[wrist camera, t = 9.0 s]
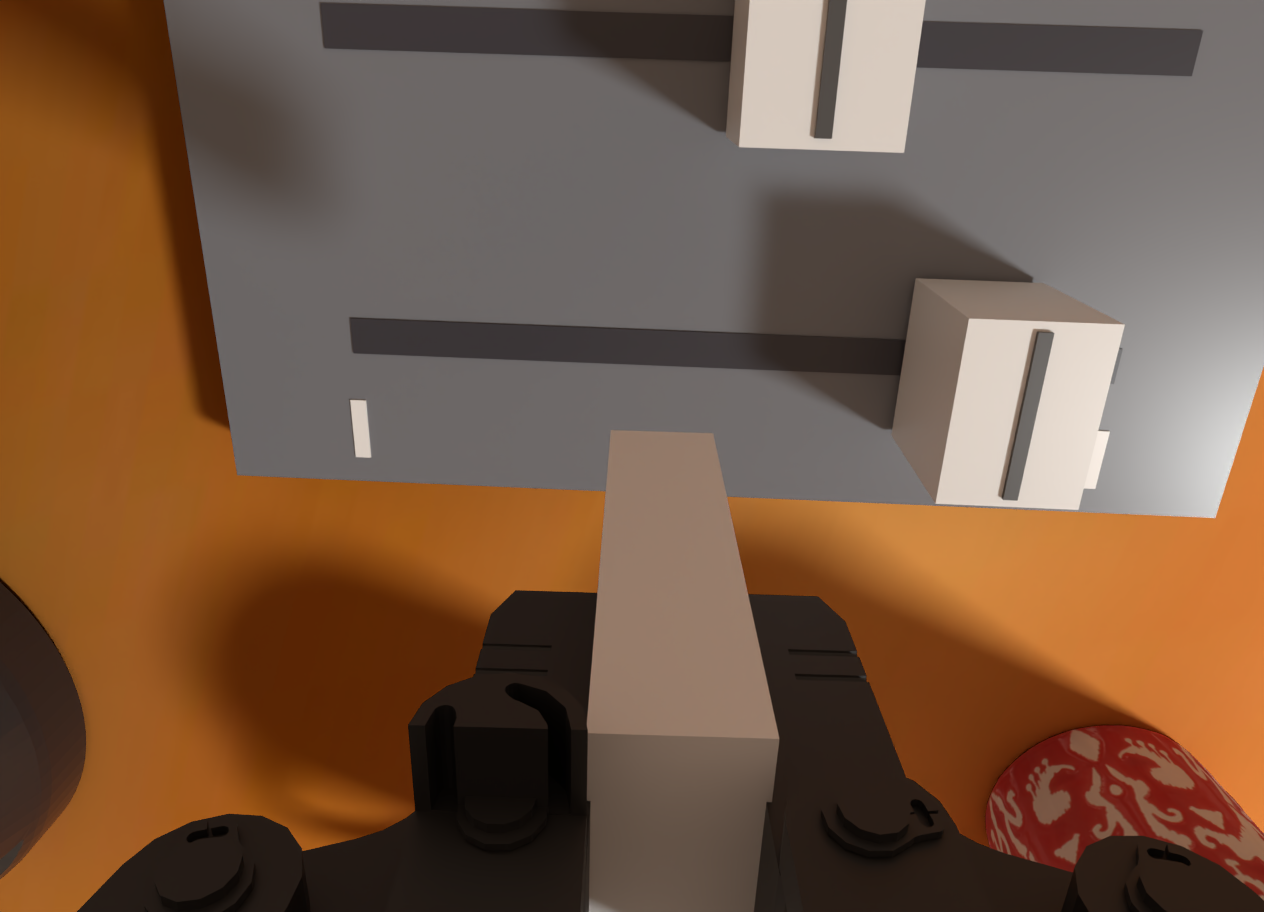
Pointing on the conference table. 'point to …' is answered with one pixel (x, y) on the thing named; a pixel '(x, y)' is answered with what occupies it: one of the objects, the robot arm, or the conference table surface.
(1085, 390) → the block
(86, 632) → the conference table surface
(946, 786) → the conference table surface
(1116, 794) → the mug
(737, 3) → the fader
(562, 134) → the console
